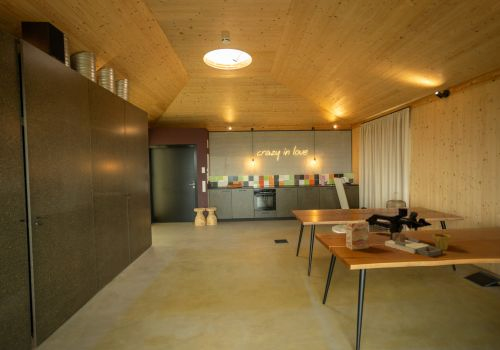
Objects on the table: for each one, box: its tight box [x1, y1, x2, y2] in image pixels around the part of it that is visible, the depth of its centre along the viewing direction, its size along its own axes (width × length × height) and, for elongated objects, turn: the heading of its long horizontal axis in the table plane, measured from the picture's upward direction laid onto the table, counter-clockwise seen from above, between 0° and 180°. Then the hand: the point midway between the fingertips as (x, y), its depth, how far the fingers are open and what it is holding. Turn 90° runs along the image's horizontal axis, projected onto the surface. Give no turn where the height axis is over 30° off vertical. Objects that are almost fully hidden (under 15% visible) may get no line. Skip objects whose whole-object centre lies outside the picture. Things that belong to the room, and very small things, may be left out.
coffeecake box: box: [345, 220, 370, 251], centre depth 194 cm, size 15×7×20 cm, turn 105°
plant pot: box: [432, 233, 452, 251], centre depth 189 cm, size 10×10×10 cm
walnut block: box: [391, 232, 406, 242], centre depth 198 cm, size 6×6×6 cm
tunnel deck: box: [384, 237, 443, 258], centre depth 189 cm, size 32×18×6 cm, turn 27°
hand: (427, 225), depth 192 cm, fingers open, 9 cm apart
